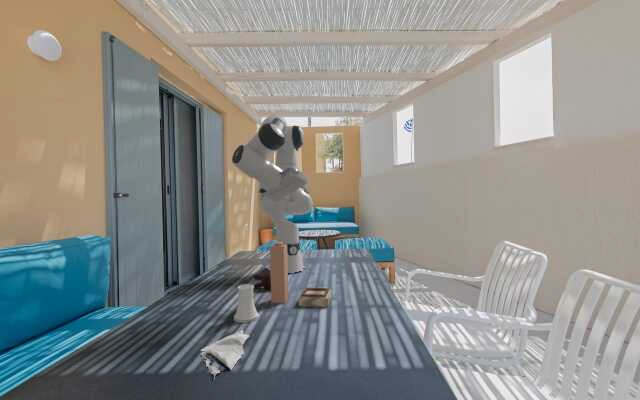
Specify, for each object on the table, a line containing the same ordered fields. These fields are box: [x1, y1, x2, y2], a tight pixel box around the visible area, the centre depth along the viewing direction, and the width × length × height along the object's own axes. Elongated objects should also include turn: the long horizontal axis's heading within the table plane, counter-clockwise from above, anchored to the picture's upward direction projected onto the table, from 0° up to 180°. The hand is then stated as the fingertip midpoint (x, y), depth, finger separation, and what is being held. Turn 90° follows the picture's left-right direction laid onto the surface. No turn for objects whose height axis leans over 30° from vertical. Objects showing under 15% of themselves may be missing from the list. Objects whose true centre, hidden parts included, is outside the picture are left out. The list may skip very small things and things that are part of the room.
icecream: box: [253, 272, 271, 290], centre depth 140 cm, size 7×7×15 cm
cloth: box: [200, 330, 251, 380], centre depth 84 cm, size 26×14×2 cm, turn 168°
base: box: [298, 287, 332, 308], centre depth 121 cm, size 10×10×4 cm
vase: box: [233, 283, 260, 324], centre depth 106 cm, size 8×8×10 cm
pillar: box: [269, 241, 289, 304], centre depth 123 cm, size 5×5×21 cm
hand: (301, 196), depth 133 cm, fingers open, 8 cm apart
